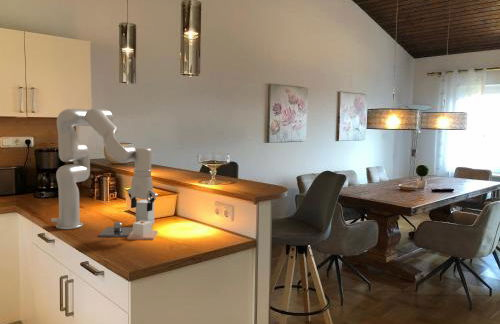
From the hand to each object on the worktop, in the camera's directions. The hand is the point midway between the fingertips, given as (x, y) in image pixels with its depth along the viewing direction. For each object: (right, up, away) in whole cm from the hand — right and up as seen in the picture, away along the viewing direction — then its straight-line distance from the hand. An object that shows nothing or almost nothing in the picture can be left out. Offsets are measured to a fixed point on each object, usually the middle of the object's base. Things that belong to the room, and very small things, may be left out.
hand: (141, 209), depth 198 cm
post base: (-13, -12, +5) cm, 18 cm away
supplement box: (-4, -11, +23) cm, 25 cm away
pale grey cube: (0, -12, +1) cm, 12 cm away
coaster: (0, -13, +1) cm, 13 cm away
